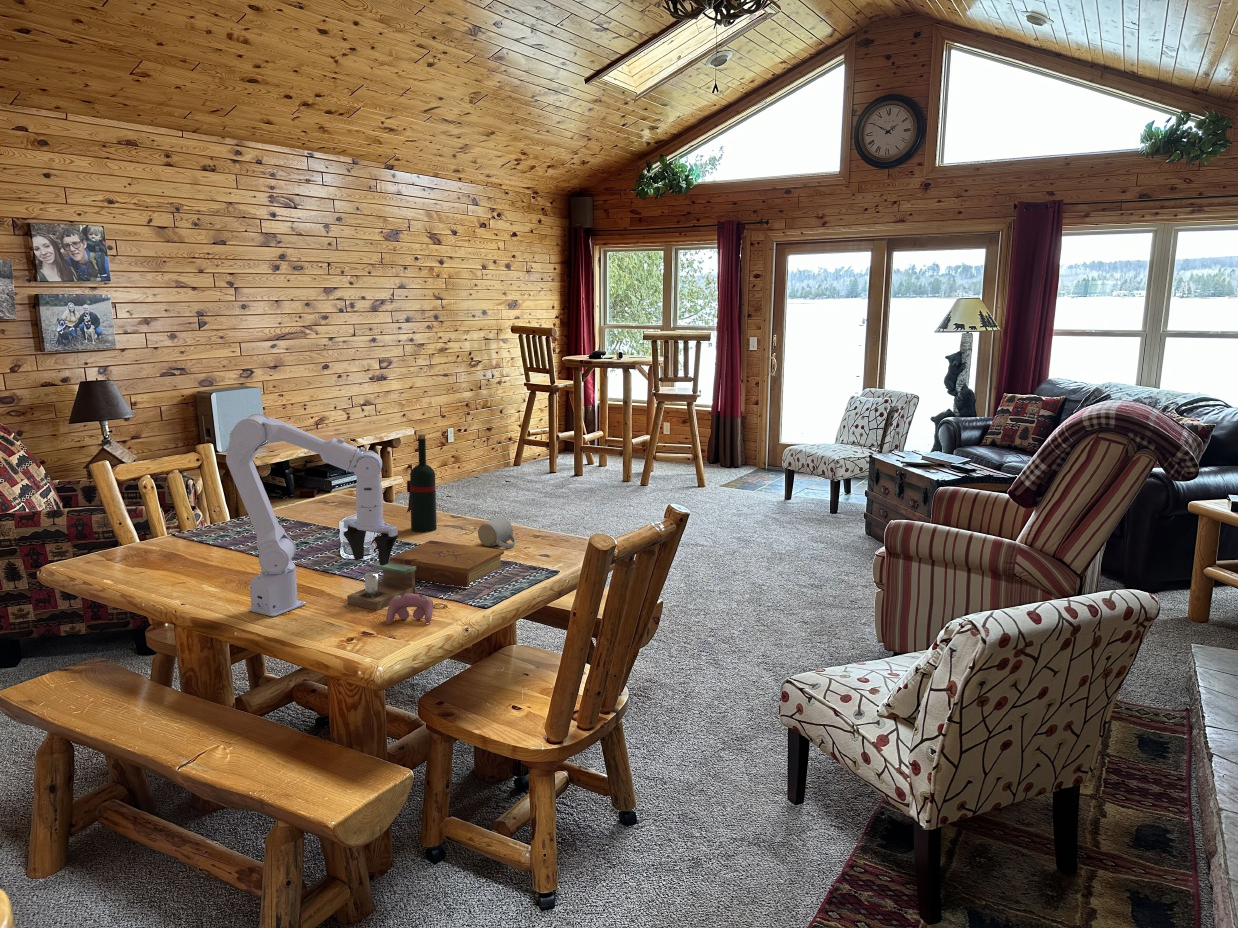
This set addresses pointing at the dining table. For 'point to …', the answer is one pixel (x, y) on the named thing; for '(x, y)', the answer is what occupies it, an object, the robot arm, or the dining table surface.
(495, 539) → the ceramic mug
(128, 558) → the dining table surface
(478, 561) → the diary
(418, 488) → the wine bottle
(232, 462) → the robot arm
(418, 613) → the video game controller
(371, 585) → the peg
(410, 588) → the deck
